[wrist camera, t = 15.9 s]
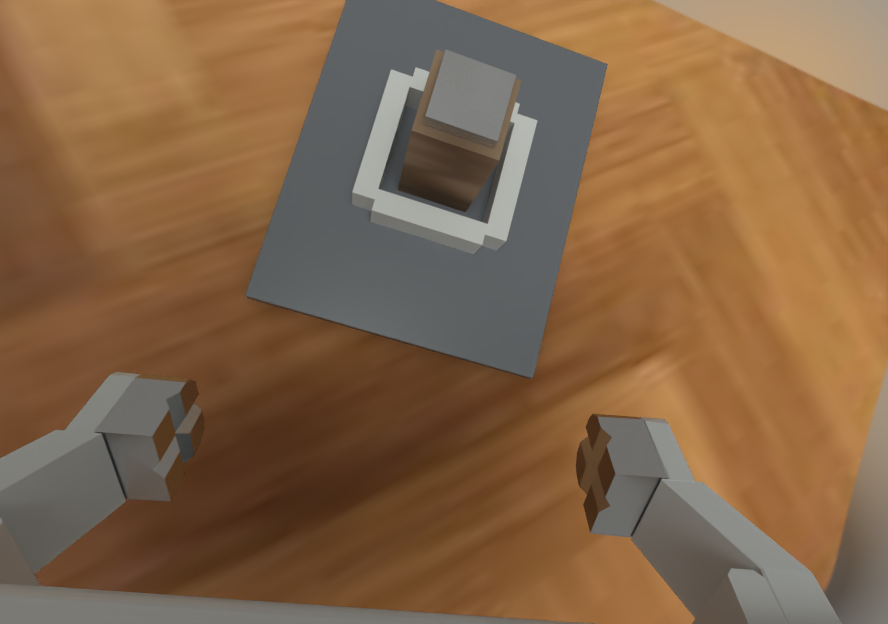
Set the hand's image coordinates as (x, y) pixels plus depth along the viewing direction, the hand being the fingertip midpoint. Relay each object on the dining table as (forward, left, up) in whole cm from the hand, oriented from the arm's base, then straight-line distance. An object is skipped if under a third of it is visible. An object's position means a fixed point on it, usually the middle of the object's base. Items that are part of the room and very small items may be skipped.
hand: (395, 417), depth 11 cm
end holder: (0, +13, -18) cm, 23 cm away
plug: (0, +13, -17) cm, 22 cm away
